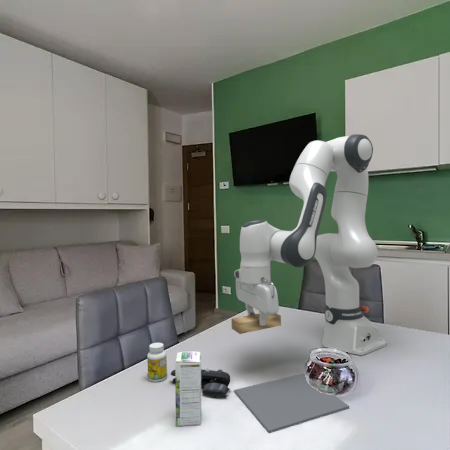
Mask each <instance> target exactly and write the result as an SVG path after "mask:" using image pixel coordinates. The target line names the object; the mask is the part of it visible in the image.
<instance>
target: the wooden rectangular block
mask: <svg viewBox="0 0 450 450" xmlns="http://www.w3.org/2000/svg"><path fill="white" fill-rule="evenodd" d="M259 317H260V314H259V313H255V314H254V315H248V314H247V315H243V316H238V317H233V318H231V319H230V320H231V330H233V331H235V332H236V333H238V334H239V335H242V334H246V333H252V332H256V331H257V332H258V331H261V330H266V329H271V328H275V327H281V326H282V322H281V321H282V315H280V314H278V313H277V314H273V315H267V317H266V324H265V325H263V326H261V325H259V324H258V318H259Z"/></svg>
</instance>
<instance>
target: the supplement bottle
mask: <svg viewBox="0 0 450 450" xmlns="http://www.w3.org/2000/svg"><path fill="white" fill-rule="evenodd" d="M148 347H149V348H148V349H149V352H148V353H147V357H146V359H147V379H148V380H149V381H150V382H151V383H160V382H162V381H165V380H166V379H167V377H168V367H167V366H168V365H167V363H168V362H167V361H168V360H167V359H168V358H167V352H166V350H164V347H165V346H164V343H162V342H153V343H150V344H149V346H148Z"/></svg>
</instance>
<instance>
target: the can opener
mask: <svg viewBox="0 0 450 450" xmlns="http://www.w3.org/2000/svg"><path fill="white" fill-rule="evenodd" d="M170 376H173V377H174V378H172V384H174V385H175V369H173V370H172V371H171V372H170ZM230 383H231V375H230V374H229V373H228V372H227V371H223V369H221V368H220V369H217V370H214V369H213V370H212V369H210V368H205V369H202V368H201V387H203V388H202V390H201V394H203V395H204V396H205V397H210V398H221V397H225V396H226V395H227V393H228V392H229V391H230V389H229V386H230Z"/></svg>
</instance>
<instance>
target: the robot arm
mask: <svg viewBox="0 0 450 450" xmlns="http://www.w3.org/2000/svg"><path fill="white" fill-rule="evenodd" d="M373 154H374V147H373V143H372V141H371V140H370V138H369V137H368V136H366V134H357V133H356V134H351V135H345V136H339V137H336V138H334V139H331V140H328V141H324V140H318V139H317V140H313V141H310V142H308V144H307V145H306V146H305V148H304V149H303V150H302V152H301V153H300V155H299V157H298V159H297V160H296V162H295V164H294V166H293V169H292V171H291V174H290V176H289V184H288V185H289V188H290V191H291V192H292V193H293V194H294V195H295V197H297V198H298V199H301V200H302V201H303V207H302V209H301V213H300V216H299V220H298V223H297V226H296V227H295V228H294V229H292V230H284V229H283V230H282V229H279V228H278V227H277V228H276V227H275V226H273V225H271V224H270V223H268V221H267V220H266V219H255V220H250V221H246V222H244V224H243V225H241V229H240V235H239V252H240V256H241V258H240V263H239V265H240V266H239V267H240V268H238V269H236V270H235V271H234V272H233V273H234V275H233V276H234V277H235V293H236V297H237V300H239V301H241V302H242V303H244V304H245V310H246V312H247V316H248V315H254V314H256V312H255V311H254V309H255V310H257V311H258V314H260V317H259V318H258V324H259V325H261V326H263V325H265V324H266V317H267V315H273V314H278V312H279V310H280V307H279V305H280V304H279V297H278V296H279V295H278V291H277V287H276V286H275V285H274V283H273V281H272V280H271V277H272V276H271V261H274V262H278V263H283V264H287V265H290V266H292V267H295V268H303V267H306V266H307V265H308V264H310V263H311V262H312V260H313V259H314V258H315V260H316V261H317V263H318V265H319V267H320V269H321V272H322V276H323V279H324V280H323V281H324V286H325V287H324V289H325V303H324V309H323V310H324V311H323V312H324V319H325V321H324V329H323V334H322V338H321V346H323V347H324V348H326V347H333V348H337V349H341V350H343V351H346V352H348V353H347V354H354V355H358V356H364V355H366V354H369V353H372V352H374V351H377V350H378V349H380V348H384V347H386V346H387V343H388V342H387V341H386V340H385V339H384V338H382V337H380V333H379V328H378V326H377V325H376V324H375V323H373V322H372V321H371V320H370V319H369V318H367V317H366V316H365V315H364V313H366V314H367V313H369V311H370V308H369V306H365V305H362V306H361V305H360V284H359V282H358V280H357V279H356V278H355V277H354V276H353V274H352V272H351V271H350V268H352V269H363V268H369V267H371V266H372V265H374V263H375V262H376V260H377V258H378V254H379V250H378V247H377V244H376V242H375V241H374V240H373V239H372V237H370V234H369V233H368V229H367V226H366V209H367V202H368V194H369V171H368V167H369V164H370V162H371V160H372V157H373ZM330 172H336V176H337V177H336V178H337V179H336V182H335V186H334V191H333V198H332V204H331V211H330V215H331V217H332V219H333V220H334V221H335V222H336V224H337V227H338V233H331V232H328V233H322V234H319V230H320V226H321V223H322V219H323V216H324V211H325V207H326V202H327V198H328V197H327V195H328V193H327V189H326V182H327V180H328V177H329V175H330Z"/></svg>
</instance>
